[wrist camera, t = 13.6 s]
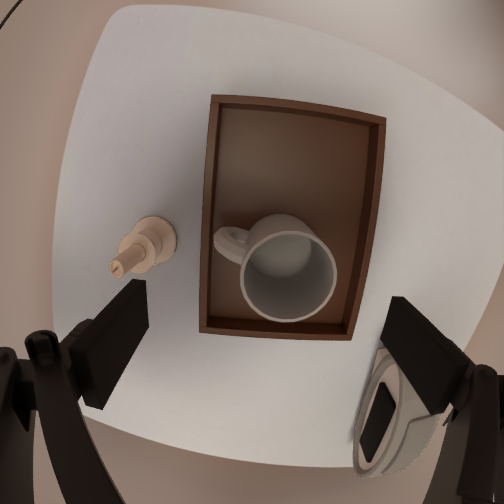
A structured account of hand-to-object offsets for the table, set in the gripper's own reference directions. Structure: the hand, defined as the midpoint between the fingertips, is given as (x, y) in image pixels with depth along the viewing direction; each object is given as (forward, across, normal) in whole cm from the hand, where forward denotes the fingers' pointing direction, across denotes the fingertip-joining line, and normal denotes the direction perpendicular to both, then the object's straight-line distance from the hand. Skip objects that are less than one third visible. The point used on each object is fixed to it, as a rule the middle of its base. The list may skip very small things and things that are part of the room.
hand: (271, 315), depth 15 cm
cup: (+16, +1, 0) cm, 16 cm away
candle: (+17, -11, -1) cm, 20 cm away
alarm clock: (+16, +20, -21) cm, 33 cm away
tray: (+16, +3, +2) cm, 17 cm away
